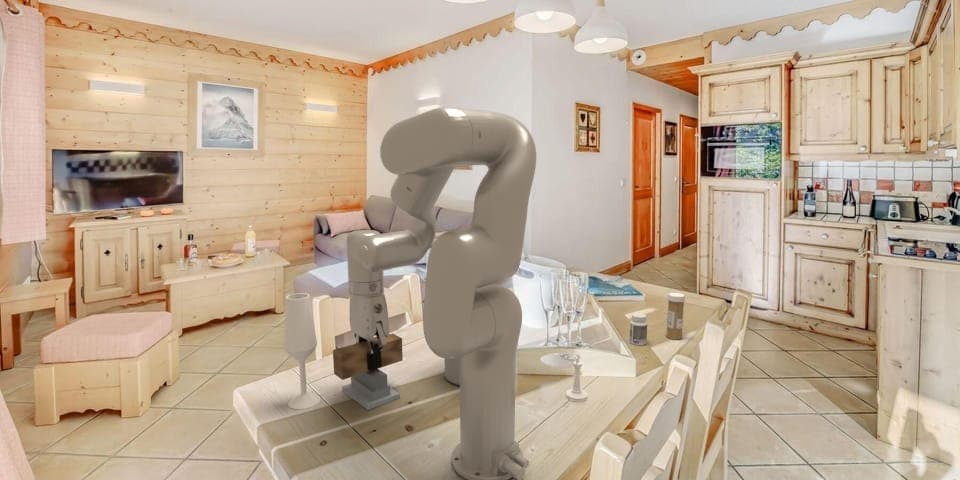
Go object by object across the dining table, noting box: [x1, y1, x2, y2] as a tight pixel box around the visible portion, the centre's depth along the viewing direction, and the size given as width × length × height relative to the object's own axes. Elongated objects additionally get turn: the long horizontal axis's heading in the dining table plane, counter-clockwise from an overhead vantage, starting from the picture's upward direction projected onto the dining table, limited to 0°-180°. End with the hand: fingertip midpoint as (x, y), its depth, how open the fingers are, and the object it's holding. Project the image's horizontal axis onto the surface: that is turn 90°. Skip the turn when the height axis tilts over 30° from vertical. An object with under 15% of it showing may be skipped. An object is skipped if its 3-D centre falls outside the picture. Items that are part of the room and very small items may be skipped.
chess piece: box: [565, 353, 589, 403], centre depth 107 cm, size 5×5×10 cm
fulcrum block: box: [341, 368, 401, 411], centre depth 108 cm, size 12×8×6 cm, turn 42°
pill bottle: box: [629, 312, 648, 346], centre depth 139 cm, size 5×5×8 cm
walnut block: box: [332, 333, 404, 381], centre depth 107 cm, size 15×4×6 cm, turn 132°
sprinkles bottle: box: [665, 292, 686, 341], centre depth 143 cm, size 5×5×13 cm
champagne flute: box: [283, 292, 321, 410], centre depth 104 cm, size 7×7×24 cm
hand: (369, 364), depth 108 cm, fingers closed on walnut block, 3 cm apart
